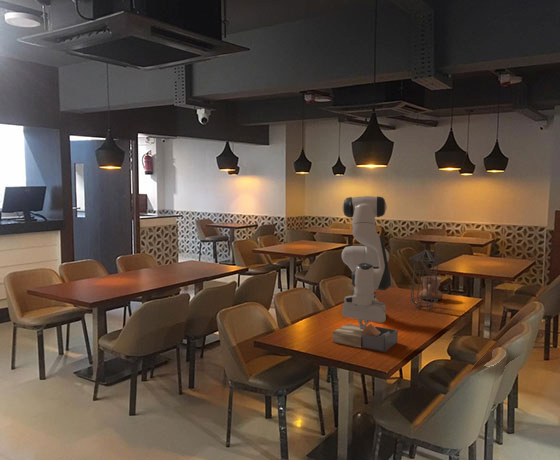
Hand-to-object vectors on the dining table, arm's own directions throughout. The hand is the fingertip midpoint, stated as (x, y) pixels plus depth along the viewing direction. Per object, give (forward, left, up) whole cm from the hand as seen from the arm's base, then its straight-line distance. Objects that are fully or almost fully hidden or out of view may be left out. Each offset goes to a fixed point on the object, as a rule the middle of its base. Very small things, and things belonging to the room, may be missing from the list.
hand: (363, 329), depth 224 cm
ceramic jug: (-108, 0, -6) cm, 108 cm away
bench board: (0, -5, -6) cm, 8 cm away
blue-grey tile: (0, +9, -2) cm, 9 cm away
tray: (0, +8, -6) cm, 10 cm away
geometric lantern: (-84, +3, -6) cm, 84 cm away
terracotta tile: (+1, +4, -2) cm, 4 cm away
